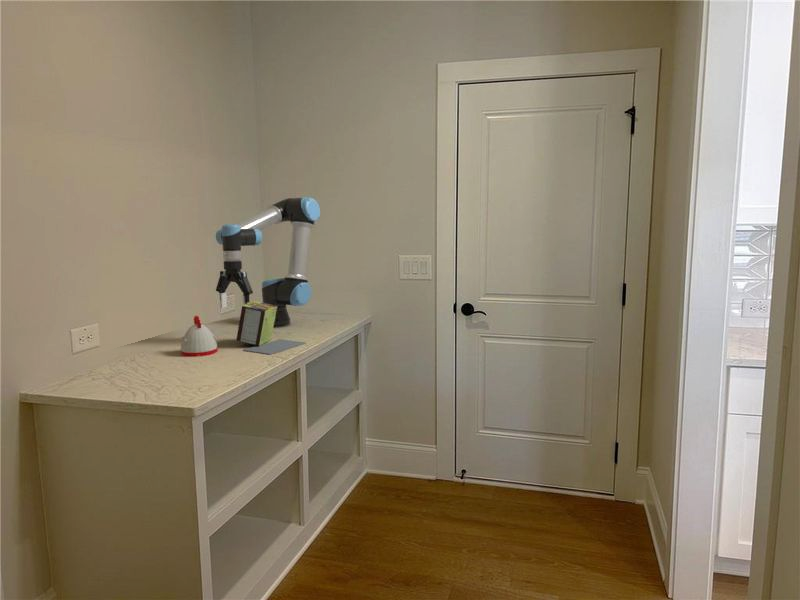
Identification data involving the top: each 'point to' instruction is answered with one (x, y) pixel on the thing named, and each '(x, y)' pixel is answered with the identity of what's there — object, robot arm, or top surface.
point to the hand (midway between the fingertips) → (234, 308)
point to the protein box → (256, 323)
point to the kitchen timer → (198, 341)
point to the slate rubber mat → (274, 346)
